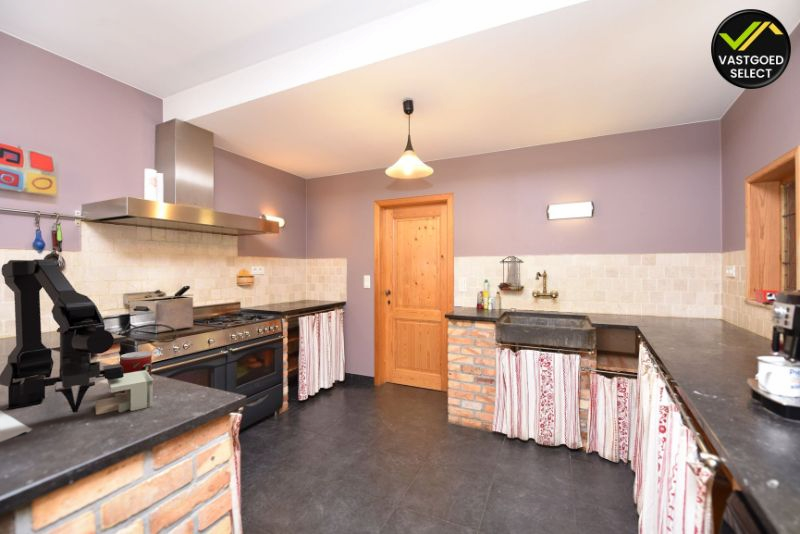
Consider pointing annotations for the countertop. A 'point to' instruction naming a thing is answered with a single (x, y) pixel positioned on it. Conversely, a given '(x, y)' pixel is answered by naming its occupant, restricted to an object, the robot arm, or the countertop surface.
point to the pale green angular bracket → (133, 390)
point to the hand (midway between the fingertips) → (75, 411)
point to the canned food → (136, 362)
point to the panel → (110, 403)
